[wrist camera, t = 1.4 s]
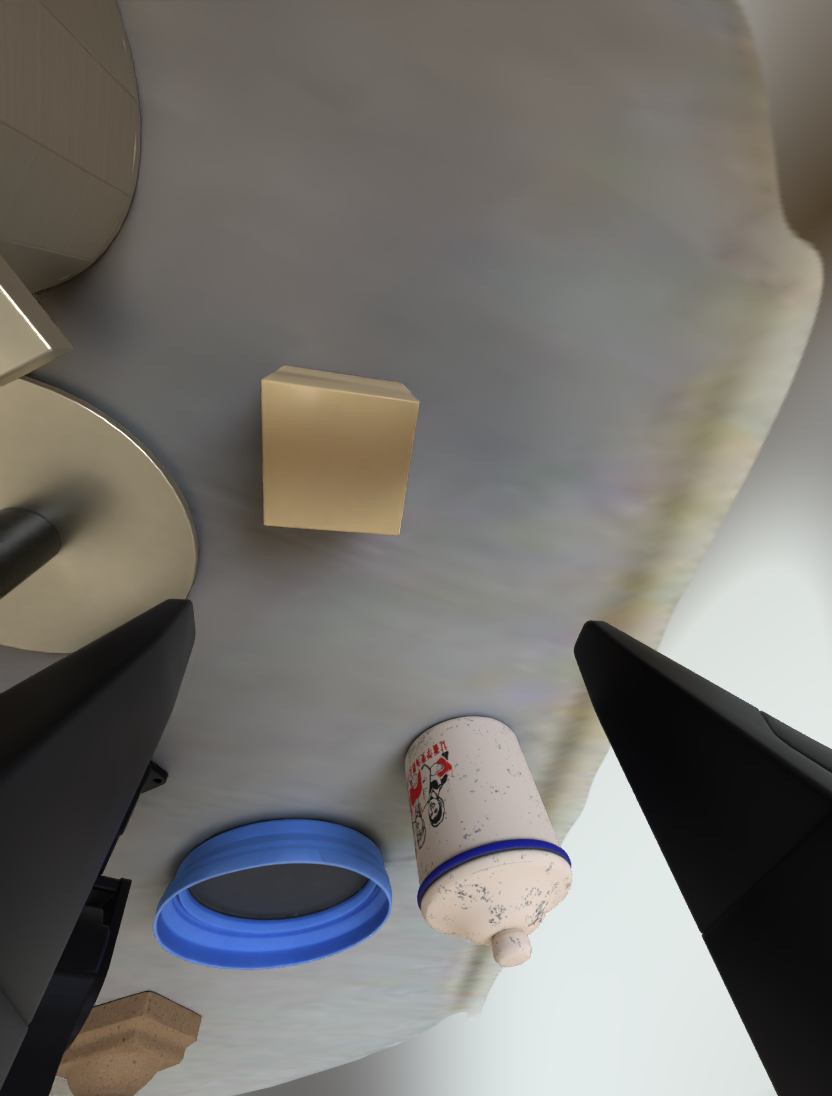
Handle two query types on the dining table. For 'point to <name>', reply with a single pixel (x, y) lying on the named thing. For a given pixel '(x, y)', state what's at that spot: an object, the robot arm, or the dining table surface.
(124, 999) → the candle holder
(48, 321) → the pot
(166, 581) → the lid
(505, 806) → the teacup with lid
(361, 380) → the cube
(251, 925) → the bowl
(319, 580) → the dining table surface
